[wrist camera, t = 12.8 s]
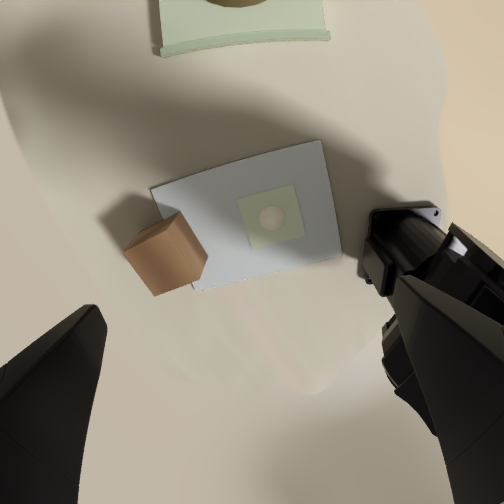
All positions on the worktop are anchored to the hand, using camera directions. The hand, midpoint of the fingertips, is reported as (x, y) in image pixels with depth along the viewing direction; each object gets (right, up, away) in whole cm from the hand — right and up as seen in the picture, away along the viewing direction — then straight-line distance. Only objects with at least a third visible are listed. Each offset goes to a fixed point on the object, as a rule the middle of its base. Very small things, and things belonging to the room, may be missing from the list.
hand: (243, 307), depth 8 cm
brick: (-6, +2, +14) cm, 15 cm away
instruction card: (0, +4, +13) cm, 13 cm away
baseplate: (-1, +19, +4) cm, 20 cm away
